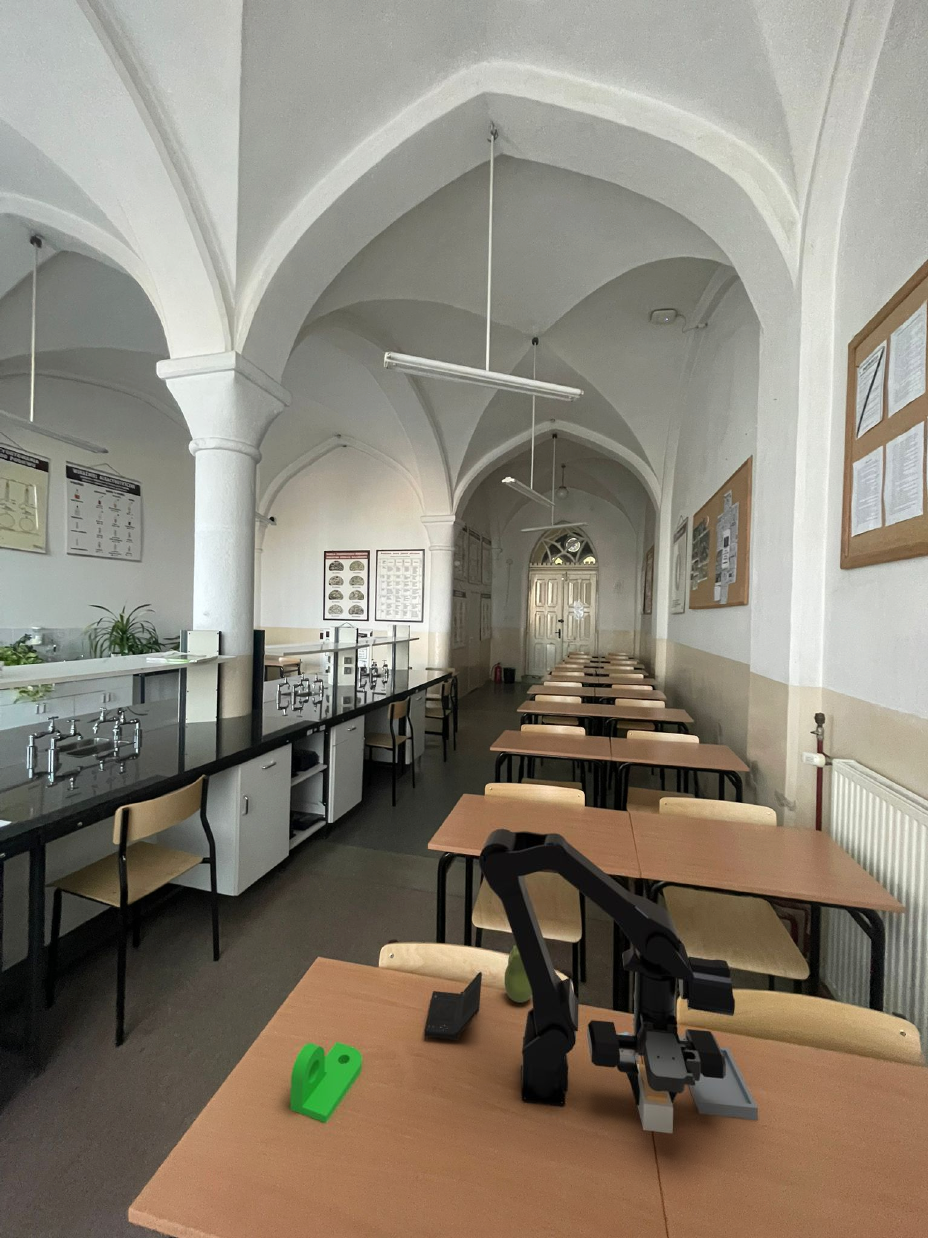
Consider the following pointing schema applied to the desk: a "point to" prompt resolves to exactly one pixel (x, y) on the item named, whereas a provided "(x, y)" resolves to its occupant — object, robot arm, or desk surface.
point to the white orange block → (654, 1106)
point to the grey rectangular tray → (725, 1093)
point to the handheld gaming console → (453, 1011)
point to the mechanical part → (323, 1079)
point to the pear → (516, 978)
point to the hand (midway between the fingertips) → (652, 1104)
